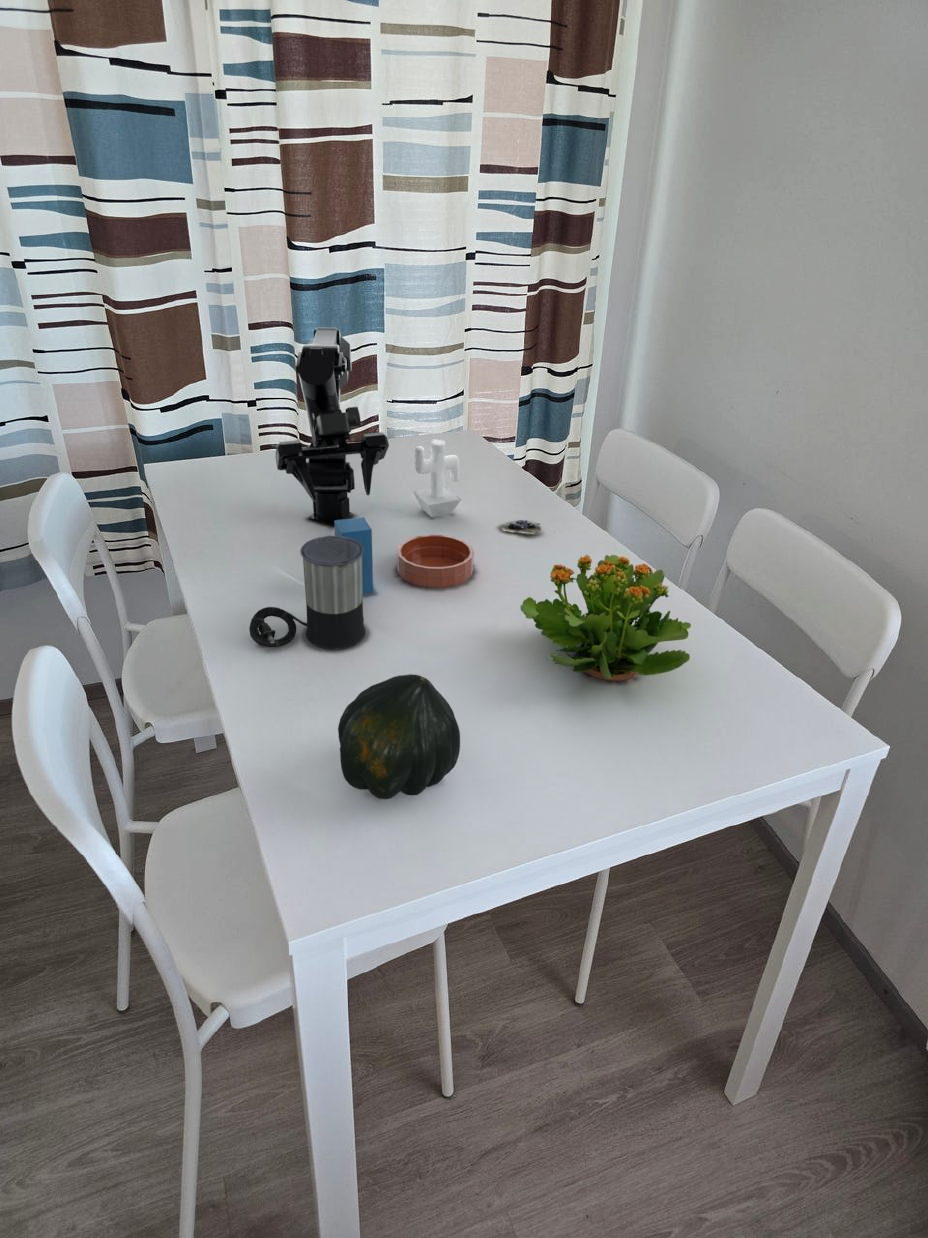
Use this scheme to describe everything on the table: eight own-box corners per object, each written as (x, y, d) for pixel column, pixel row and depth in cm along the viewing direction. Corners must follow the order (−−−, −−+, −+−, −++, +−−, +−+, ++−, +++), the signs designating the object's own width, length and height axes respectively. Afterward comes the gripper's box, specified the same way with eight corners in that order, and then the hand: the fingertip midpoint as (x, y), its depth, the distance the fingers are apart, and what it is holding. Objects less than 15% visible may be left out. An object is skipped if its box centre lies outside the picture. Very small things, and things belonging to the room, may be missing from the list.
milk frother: (378, 635, 133) (376, 549, 125) (296, 676, 123) (289, 585, 115) (320, 602, 141) (315, 519, 133) (239, 637, 131) (228, 550, 123)
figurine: (465, 515, 173) (468, 443, 165) (423, 522, 169) (424, 450, 161) (449, 502, 178) (451, 432, 170) (408, 509, 174) (408, 438, 167)
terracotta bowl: (382, 576, 149) (382, 556, 147) (423, 548, 159) (423, 528, 157) (448, 596, 144) (448, 575, 142) (485, 566, 154) (486, 546, 152)
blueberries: (542, 538, 165) (542, 529, 164) (500, 536, 165) (501, 527, 164) (540, 523, 170) (540, 514, 170) (499, 521, 170) (500, 513, 170)
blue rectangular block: (337, 584, 146) (334, 520, 140) (365, 580, 148) (363, 516, 142) (344, 598, 142) (341, 532, 136) (373, 594, 144) (371, 529, 138)
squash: (294, 742, 102) (360, 691, 92) (370, 685, 113) (436, 635, 103) (365, 838, 102) (440, 797, 92) (434, 771, 113) (507, 729, 103)
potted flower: (660, 618, 140) (677, 520, 131) (728, 703, 120) (753, 595, 111) (512, 631, 135) (520, 530, 126) (558, 723, 115) (571, 611, 106)
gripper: (271, 394, 137) (289, 484, 134) (384, 385, 143) (404, 472, 140) (268, 426, 147) (285, 510, 144) (373, 417, 153) (392, 498, 150)
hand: (341, 497), depth 144 cm, fingers open, 9 cm apart
